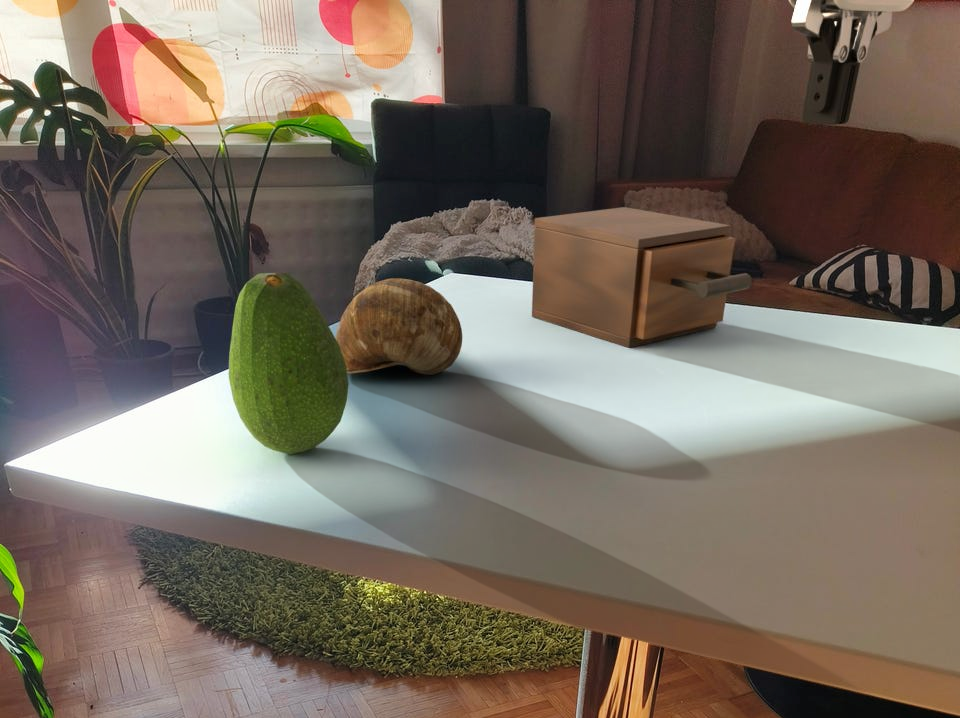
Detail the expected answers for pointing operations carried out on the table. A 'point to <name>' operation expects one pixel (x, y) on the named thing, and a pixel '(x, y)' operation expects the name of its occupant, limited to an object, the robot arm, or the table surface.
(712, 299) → the drawer
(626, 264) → the cabinet
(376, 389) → the table surface
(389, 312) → the seashell
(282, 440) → the fruit
